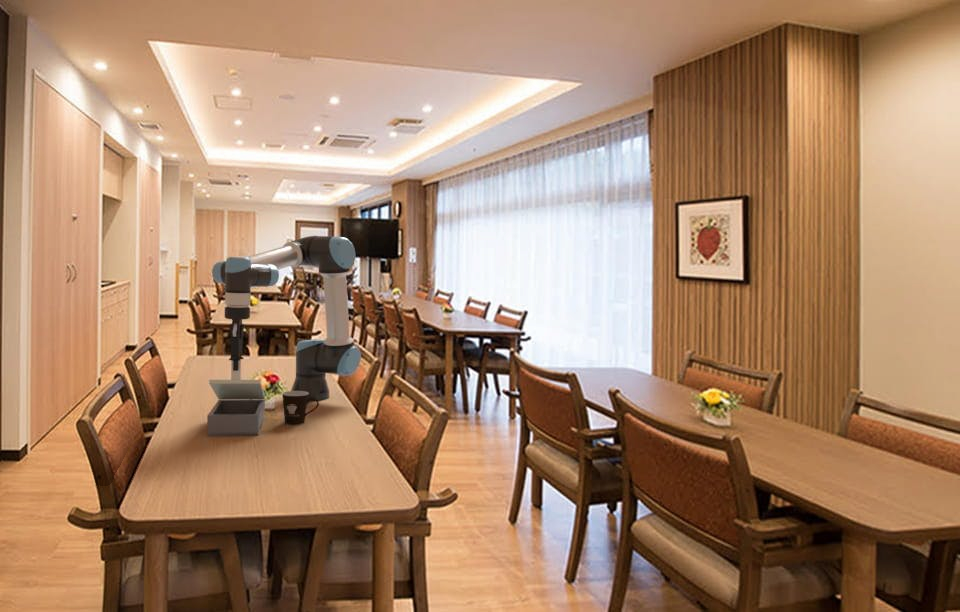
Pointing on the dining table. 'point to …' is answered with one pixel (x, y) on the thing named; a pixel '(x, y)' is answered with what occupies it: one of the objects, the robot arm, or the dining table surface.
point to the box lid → (238, 389)
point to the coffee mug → (296, 406)
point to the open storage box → (236, 418)
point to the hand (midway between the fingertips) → (235, 380)
